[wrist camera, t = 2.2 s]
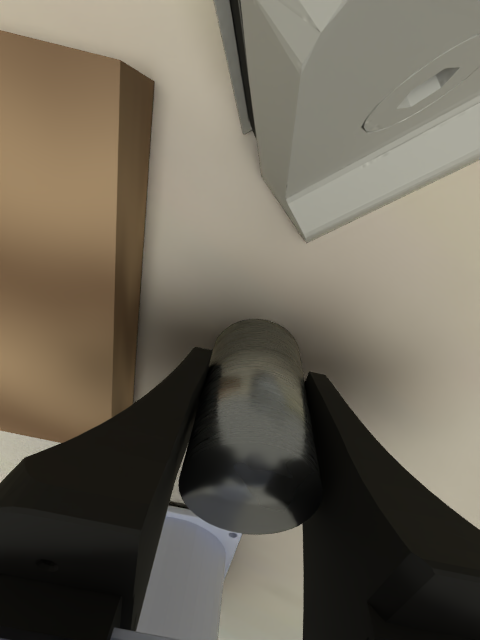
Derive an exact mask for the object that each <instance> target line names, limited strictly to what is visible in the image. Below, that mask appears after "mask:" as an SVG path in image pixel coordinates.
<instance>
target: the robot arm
mask: <svg viewBox="0 0 480 640" xmlns="http://www.w3.org/2000/svg"><path fill="white" fill-rule="evenodd" d="M211 355H212V350H207V349H203V348H198V347H195V348H193V349H192V351H191V352H190V353H189V354H188V356H187V357H186V358H185V359H184V360H183V361H182V363H181V364H180V365H179V366H178V367H177V368H176V369H175V370H174V371H173V372H172V373H171V374H170V375H169V376H168V377H166V378H165V379H164V380H163V381H162V382H161V383H160V384H158V385H157V386H156V387H155V388H154V389H152V390H151V391H150V392H149V393H147V394H146V395H145V396H144V397H142V398H141V399H140V400H138V401H137V402H135V403H134V404H132V405H131V406H130V407H128V408H126V409H125V410H123V411H122V412H120V413H118V414H117V415H115V416H114V417H112V418H110V419H109V420H107V421H105V422H103V423H102V424H100V425H98V426H96V427H94V428H92V429H90V430H88V431H86V432H84V433H82V434H80V435H78V436H76V437H74V438H72V439H70V440H68V441H66V442H63V443H61V444H58V445H56V446H53V447H51V448H48V449H46V450H43V451H41V452H38V453H36V454H33V455H31V456H28V457H25V458H24V459H23V460H22V461H21V462H20V463H19V464H18V465H17V466H16V467H15V468H14V469H13V470H12V471H11V472H10V473H9V474H8V475H7V476H6V478H5V479H4V480H3V481H2V482H1V483H0V640H218V631H219V621H220V611H221V601H222V591H223V582H224V579H225V577H226V574H227V572H228V569H229V567H230V564H231V561H232V559H233V556H234V554H235V551H236V549H237V546H238V543H239V541H240V538H241V536H242V533H236V532H231V531H227V530H224V529H221V528H218V527H216V526H213V525H211V524H209V523H207V522H205V521H204V520H202V519H201V518H199V517H198V516H196V515H195V514H194V513H193V512H192V511H191V510H189V509H184V508H179V507H174V506H169V501H170V498H171V494H172V490H173V486H174V483H175V480H176V477H177V473H178V470H179V468H180V465H181V462H182V459H183V457H184V454H185V451H186V448H187V446H188V443H189V440H190V436H191V432H192V428H193V425H194V421H195V417H196V413H197V410H198V406H199V402H200V398H201V395H202V391H203V387H204V384H205V380H206V377H207V373H208V369H209V365H210V360H211ZM305 388H306V394H307V400H308V406H309V412H310V418H311V424H312V430H313V436H314V442H315V448H316V454H317V460H318V466H319V471H320V477H321V483H322V489H323V496H322V501H321V504H320V506H319V508H318V509H317V511H316V512H315V513H314V515H313V516H312V517H311V518H309V519H308V520H307V521H305V522H304V523H303V561H304V614H303V640H480V530H479V529H478V528H476V527H475V526H474V525H472V524H471V523H469V522H468V521H467V520H466V519H464V518H463V517H462V516H460V515H459V514H458V513H456V512H455V511H454V510H453V509H451V508H450V507H449V506H447V505H446V504H445V503H444V502H442V501H441V500H440V499H439V498H438V497H436V496H435V495H434V494H433V493H432V492H430V491H429V490H428V489H427V488H426V487H425V486H423V485H422V484H421V483H420V482H419V481H418V480H417V479H416V478H414V477H413V476H412V475H411V474H410V473H409V472H408V471H407V470H406V469H405V468H404V467H402V466H401V465H400V464H399V463H398V462H397V461H396V460H395V459H394V458H393V457H392V456H391V455H390V454H389V453H388V452H387V451H386V450H385V448H384V447H383V446H382V445H381V444H380V443H379V442H378V441H377V440H376V439H375V438H374V436H373V435H372V434H371V433H370V432H369V431H368V429H367V428H366V427H365V426H364V425H363V424H362V422H361V421H360V420H359V419H358V417H357V416H356V415H355V414H354V412H353V411H352V410H351V408H350V407H349V406H348V405H347V403H346V402H345V401H344V399H343V398H342V397H341V395H340V394H339V393H338V391H337V390H336V389H335V387H334V386H333V384H332V383H331V382H330V381H329V379H328V378H327V377H326V376H325V375H322V374H317V373H313V372H309V374H308V376H307V379H306V381H305Z"/></svg>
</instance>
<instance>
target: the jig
mask: <svg viewBox="0 0 480 640" xmlns="http://www.w3.org/2000/svg"><path fill="white" fill-rule="evenodd" d="M153 93H154V81H152V80H151V79H149V78H148V77H146V76H145V75H143V74H141V73H140V72H138V71H137V70H135V69H133V68H132V67H130V66H129V65H127V64H126V63H124V62H122V61H121V60H117V59H113V58H109V57H105V56H101V55H97V54H93V53H89V52H85V51H81V50H77V49H73V48H69V47H65V46H61V45H57V44H53V43H49V42H45V41H41V40H37V39H33V38H29V37H25V36H21V35H17V34H13V33H9V32H5V31H1V30H0V430H1V431H6V432H11V433H15V434H20V435H25V436H30V437H35V438H40V439H45V440H50V441H55V442H60V443H63V442H66V441H68V440H70V439H72V438H74V437H76V436H78V435H80V434H82V433H84V432H86V431H88V430H90V429H92V428H94V427H96V426H98V425H100V424H102V423H103V422H105V421H107V420H109V419H110V418H112V417H114V416H115V415H117V414H118V413H120V412H122V411H123V410H125V409H126V408H128V407H130V406H131V405H132V404H133V392H134V377H135V362H136V348H137V333H138V318H139V303H140V288H141V273H142V258H143V243H144V228H145V213H146V198H147V183H148V168H149V153H150V138H151V123H152V108H153Z"/></svg>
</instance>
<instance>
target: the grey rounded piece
mask: <svg viewBox="0 0 480 640" xmlns="http://www.w3.org/2000/svg"><path fill="white" fill-rule="evenodd" d="M214 5H215V10H216V14H217V19H218V23H219V28H220V32H221V37H222V41H223V46H224V50H225V55H226V60H227V64H228V69H229V73H230V78H231V82H232V87H233V91H234V96H235V100H236V105H237V109H238V114H239V119H240V123H241V128H242V132H243V135H244V134H245V133H247V132H249V131H251V130H253V132H254V134H255V137H256V139H257V146H258V153H259V161H260V169H261V176H262V178H263V179H264V181H265V182H266V184H267V185H268V187H269V188H270V190H271V191H272V193H273V194H274V195H275V197H276V198H277V200H278V201H279V203H280V204H281V206H282V207H283V209H284V210H285V212H286V213H287V215H288V216H289V218H290V219H291V220H292V222H293V223H294V225H295V226H296V228H297V230H298V232H299V233H300V235H301V236H302V238H303V239H304V241H305V242H306V243H308V242H310V241H312V240H314V239H316V238H318V237H321V236H323V235H325V234H327V233H329V232H331V231H333V230H335V229H337V228H339V227H341V226H343V225H345V224H348V223H350V222H352V221H354V220H356V219H358V218H360V217H362V216H364V215H366V214H368V213H370V212H372V211H374V210H377V209H379V208H381V207H383V206H385V205H387V204H389V203H391V202H393V201H395V200H397V199H399V198H401V197H404V196H406V195H408V194H410V193H412V192H414V191H416V190H418V189H420V188H422V187H424V186H426V185H428V184H430V183H433V182H435V181H437V180H439V179H441V178H443V177H445V176H447V175H449V174H451V173H453V172H455V171H457V170H460V169H462V168H464V167H466V166H468V165H470V164H472V163H474V162H476V161H478V160H480V0H214Z"/></svg>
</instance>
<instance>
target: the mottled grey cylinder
mask: <svg viewBox="0 0 480 640" xmlns="http://www.w3.org/2000/svg"><path fill="white" fill-rule="evenodd" d="M179 492H180V495H181V497H182V499H183V501H184V503H185V504H186V506H187V507H188V508H189V509H190V510H191V511H192V512H193V513H194V514H195V515H196V516H198V517H199V518H201V519H202V520H204V521H205V522H207V523H209V524H211V525H213V526H216V527H218V528H221V529H224V530H227V531H231V532H236V533H242V534H259V535H261V534H272V533H278V532H282V531H286V530H289V529H292V528H294V527H296V526H299V525H300V524H302V523H304V522H305V521H307V520H308V519H309V518H311V517H312V516H313V515H314V513H315V512H316V511H317V509H318V508H319V506H320V504H321V501H322V496H323V489H322V483H321V477H320V471H319V466H318V460H317V454H316V448H315V442H314V436H313V430H312V424H311V418H310V412H309V406H308V400H307V394H306V388H305V382H304V377H303V371H302V365H301V359H300V353H299V348H298V345H297V343H296V341H295V339H294V337H293V336H292V335H291V334H290V333H289V332H288V331H287V330H286V329H285V328H283V327H282V326H280V325H278V324H276V323H274V322H271V321H267V320H261V319H249V320H244V321H240V322H237V323H235V324H233V325H231V326H229V327H228V328H227V329H225V330H224V331H223V332H222V333H221V334H220V336H219V337H218V339H217V341H216V343H215V346H214V349H213V353H212V357H211V361H210V365H209V369H208V373H207V377H206V380H205V384H204V387H203V391H202V395H201V398H200V402H199V406H198V410H197V413H196V417H195V421H194V425H193V428H192V432H191V436H190V440H189V444H188V447H187V451H186V455H185V459H184V462H183V466H182V470H181V474H180V477H179Z"/></svg>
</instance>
